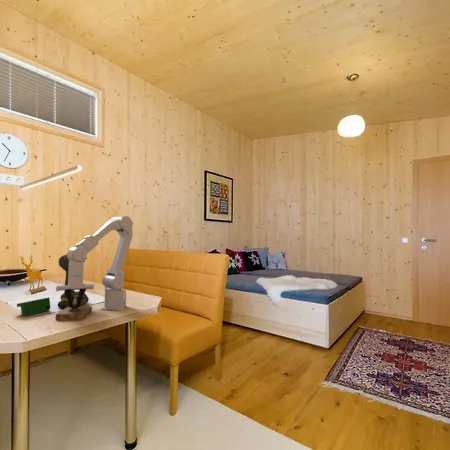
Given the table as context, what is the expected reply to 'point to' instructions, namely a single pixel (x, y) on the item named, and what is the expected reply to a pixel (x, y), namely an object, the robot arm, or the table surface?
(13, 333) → the table surface
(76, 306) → the metal cylinder
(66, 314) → the holder
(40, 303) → the green block
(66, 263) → the cordless drill
